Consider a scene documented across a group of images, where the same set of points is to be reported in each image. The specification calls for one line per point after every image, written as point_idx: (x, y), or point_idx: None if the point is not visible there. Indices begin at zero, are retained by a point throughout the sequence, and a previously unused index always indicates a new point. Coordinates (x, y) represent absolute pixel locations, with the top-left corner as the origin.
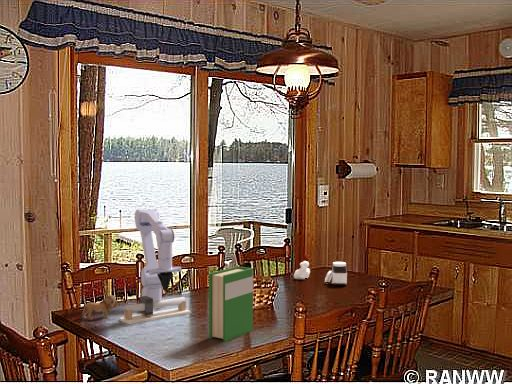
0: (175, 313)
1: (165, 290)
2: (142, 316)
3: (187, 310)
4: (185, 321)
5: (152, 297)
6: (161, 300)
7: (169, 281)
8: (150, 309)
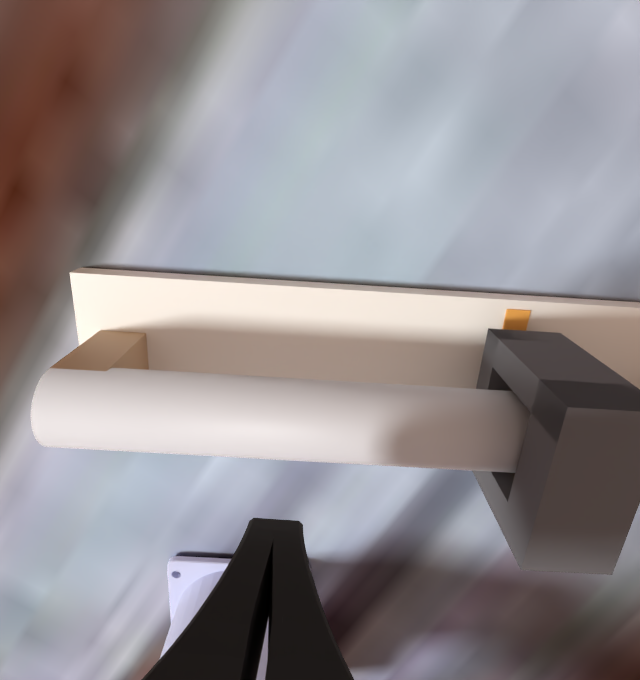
0: (244, 292)
1: (293, 522)
2: None
3: (90, 311)
4: (281, 27)
5: (267, 656)
6: (355, 441)
7: (198, 639)
8: (538, 351)
